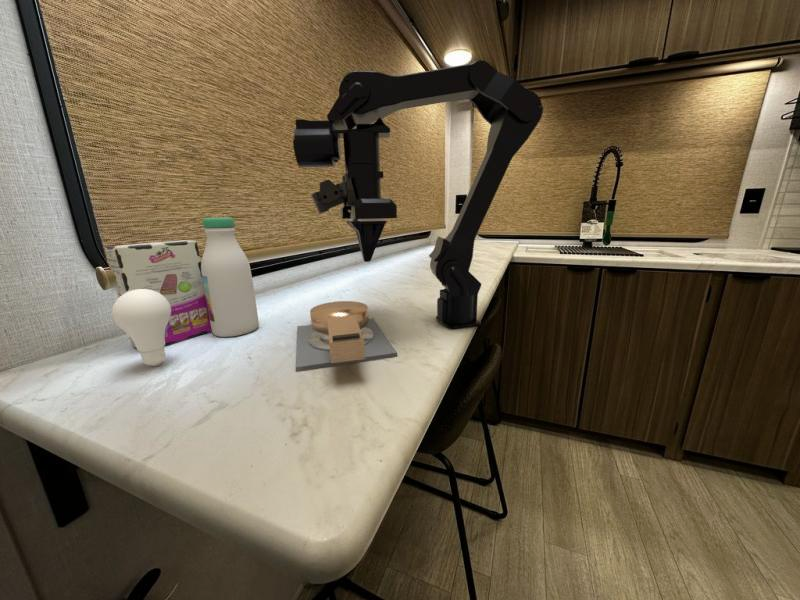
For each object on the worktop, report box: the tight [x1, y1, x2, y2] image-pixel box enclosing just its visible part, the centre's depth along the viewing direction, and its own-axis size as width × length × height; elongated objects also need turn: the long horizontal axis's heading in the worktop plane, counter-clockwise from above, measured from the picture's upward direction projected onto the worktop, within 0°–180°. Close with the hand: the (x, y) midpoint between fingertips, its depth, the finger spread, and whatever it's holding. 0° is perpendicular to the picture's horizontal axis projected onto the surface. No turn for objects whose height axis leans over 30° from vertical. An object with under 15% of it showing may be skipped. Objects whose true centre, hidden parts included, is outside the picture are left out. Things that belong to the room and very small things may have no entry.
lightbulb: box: [111, 289, 171, 367], centre depth 43 cm, size 6×6×11 cm
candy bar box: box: [104, 239, 212, 348], centre depth 52 cm, size 11×5×16 cm, turn 148°
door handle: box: [309, 300, 369, 363], centre depth 46 cm, size 18×9×3 cm, turn 14°
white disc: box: [308, 327, 373, 351], centre depth 51 cm, size 10×10×2 cm
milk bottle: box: [201, 217, 260, 338], centre depth 55 cm, size 8×8×20 cm
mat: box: [295, 317, 398, 372], centre depth 51 cm, size 14×17×1 cm
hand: (367, 261), depth 55 cm, fingers closed
